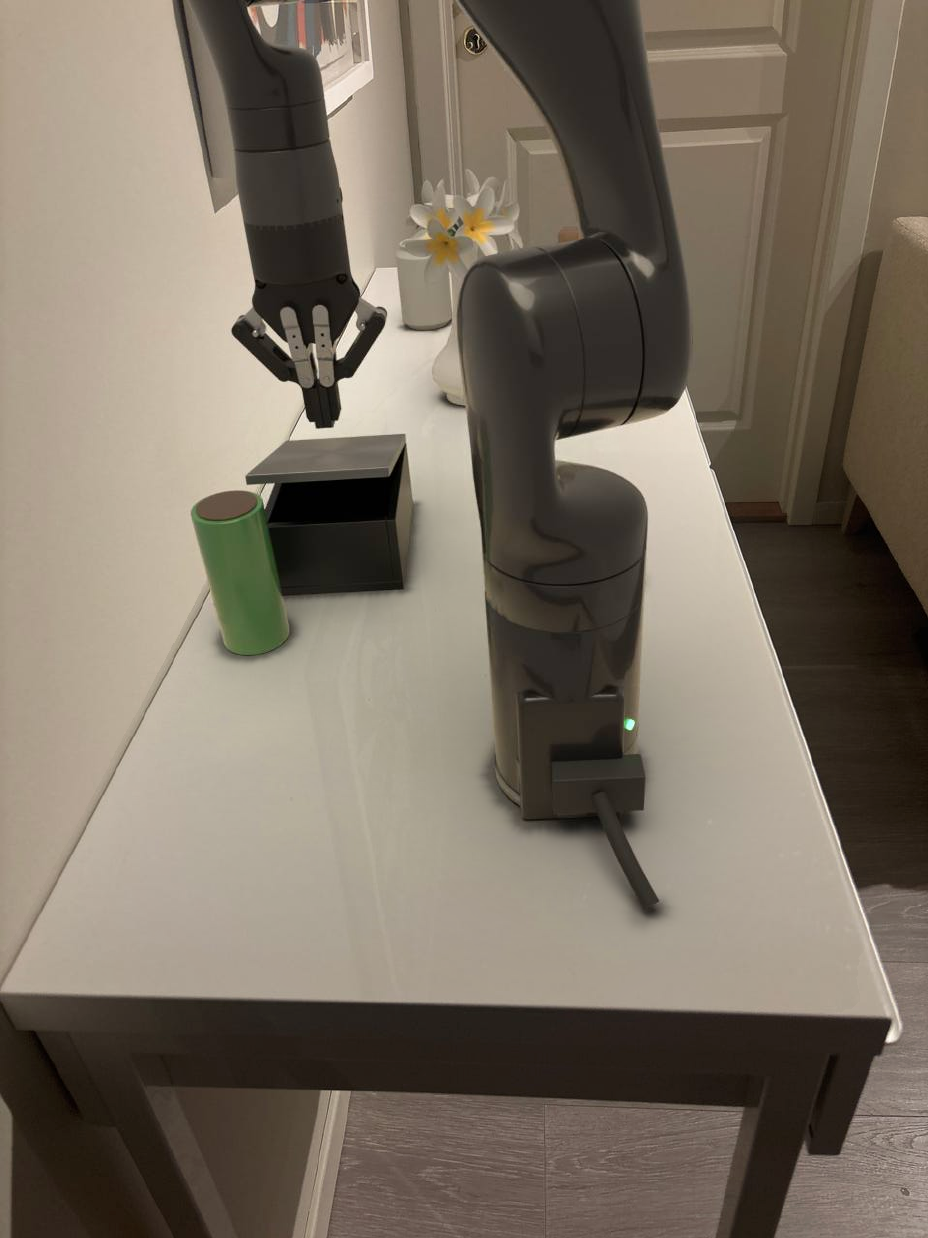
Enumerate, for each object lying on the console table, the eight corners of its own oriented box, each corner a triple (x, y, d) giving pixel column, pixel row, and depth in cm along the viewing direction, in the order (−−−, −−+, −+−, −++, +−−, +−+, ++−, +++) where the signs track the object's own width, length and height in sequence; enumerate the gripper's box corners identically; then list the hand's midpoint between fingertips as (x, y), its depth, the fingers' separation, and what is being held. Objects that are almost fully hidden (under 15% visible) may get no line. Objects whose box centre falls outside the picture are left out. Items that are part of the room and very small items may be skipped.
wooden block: (563, 276, 159) (563, 225, 155) (587, 277, 158) (587, 226, 154) (557, 283, 156) (557, 231, 152) (582, 284, 155) (582, 232, 151)
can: (395, 322, 146) (386, 239, 139) (440, 312, 148) (434, 231, 141) (414, 335, 140) (406, 249, 133) (460, 325, 142) (455, 240, 136)
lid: (389, 476, 77) (388, 466, 76) (246, 485, 77) (244, 475, 77) (406, 441, 92) (405, 433, 92) (286, 448, 93) (285, 440, 92)
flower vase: (414, 431, 111) (390, 200, 97) (429, 373, 126) (410, 167, 112) (526, 427, 110) (519, 193, 96) (528, 369, 125) (521, 160, 111)
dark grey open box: (403, 588, 83) (395, 520, 79) (272, 595, 84) (257, 527, 80) (413, 504, 96) (406, 441, 92) (298, 511, 97) (287, 449, 93)
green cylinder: (283, 653, 76) (254, 519, 70) (217, 657, 77) (181, 523, 70) (294, 615, 81) (268, 486, 74) (231, 618, 81) (199, 490, 74)
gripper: (193, 227, 69) (241, 447, 79) (375, 214, 69) (400, 438, 79) (216, 204, 76) (258, 412, 85) (383, 193, 75) (405, 403, 85)
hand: (326, 424), depth 82 cm, fingers closed
